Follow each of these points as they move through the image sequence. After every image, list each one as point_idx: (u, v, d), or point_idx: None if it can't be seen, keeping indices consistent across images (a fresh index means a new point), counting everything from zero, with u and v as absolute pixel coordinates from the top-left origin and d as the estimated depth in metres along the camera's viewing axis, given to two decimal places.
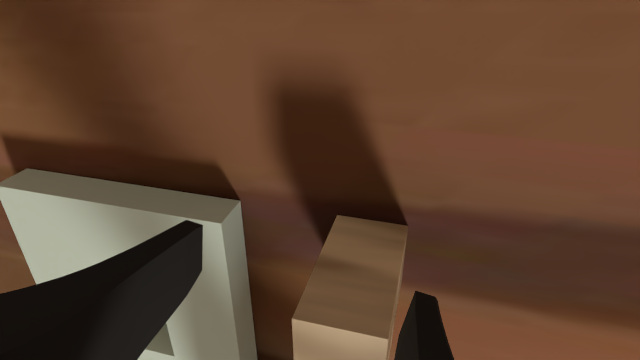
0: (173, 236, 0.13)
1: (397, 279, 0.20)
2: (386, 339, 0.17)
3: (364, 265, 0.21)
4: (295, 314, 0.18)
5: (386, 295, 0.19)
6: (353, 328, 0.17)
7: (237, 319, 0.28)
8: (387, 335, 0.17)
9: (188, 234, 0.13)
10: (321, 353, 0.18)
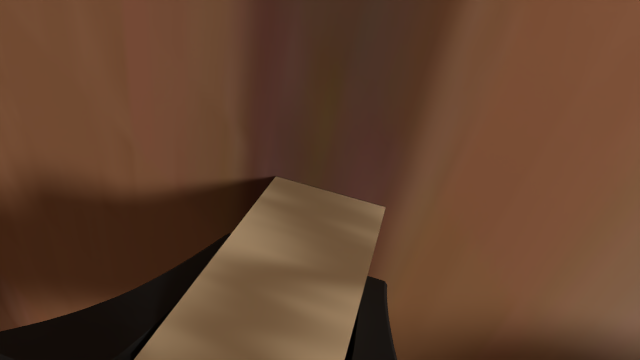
0: None
1: (216, 254, 0.12)
2: None
3: None
4: None
5: None
6: None
7: None
8: (137, 355, 0.09)
9: None
10: None
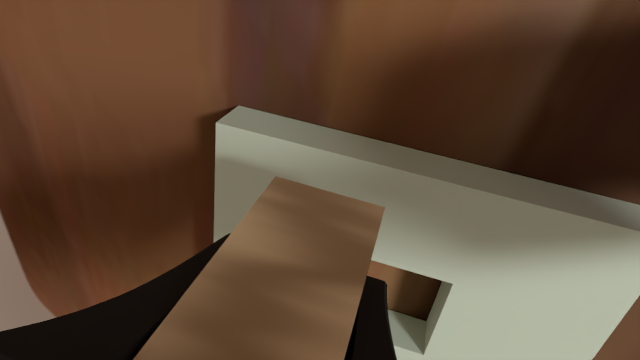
0: None
1: (216, 253, 0.12)
2: None
3: None
4: None
5: None
6: None
7: (380, 160, 0.19)
8: (137, 355, 0.09)
9: None
10: None
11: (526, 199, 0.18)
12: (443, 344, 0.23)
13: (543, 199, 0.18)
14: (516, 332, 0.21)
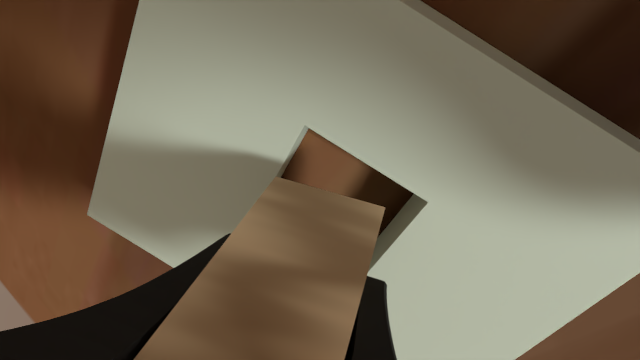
0: None
1: (216, 254, 0.12)
2: None
3: None
4: None
5: None
6: None
7: None
8: (137, 355, 0.09)
9: None
10: None
11: (570, 107, 0.13)
12: (385, 278, 0.18)
13: (587, 115, 0.14)
14: (479, 281, 0.17)
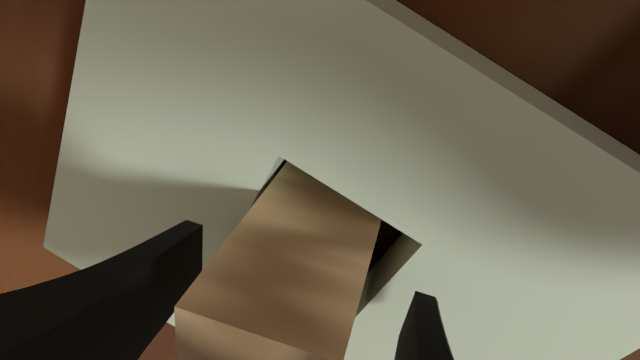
0: (173, 236, 0.13)
1: (239, 223, 0.13)
2: (176, 308, 0.10)
3: None
4: None
5: None
6: (179, 341, 0.11)
7: (384, 8, 0.11)
8: (178, 302, 0.10)
9: (188, 234, 0.13)
10: None
11: (591, 140, 0.11)
12: (374, 325, 0.16)
13: (610, 149, 0.12)
14: (482, 333, 0.15)
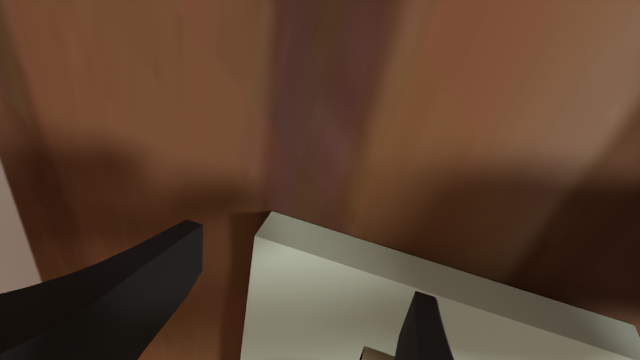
0: (173, 236, 0.13)
1: None
2: None
3: None
4: None
5: None
6: None
7: (398, 276, 0.22)
8: None
9: (188, 234, 0.13)
10: None
11: (524, 320, 0.21)
12: None
13: (539, 318, 0.21)
14: None
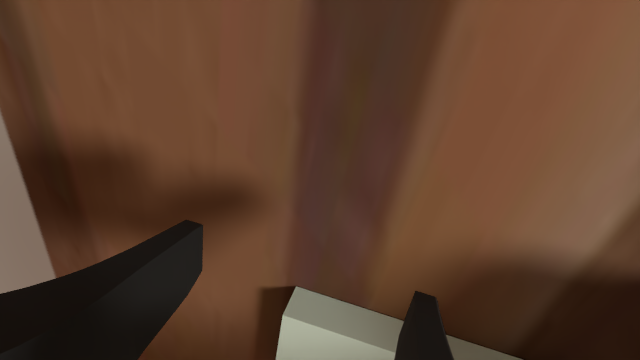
0: (173, 236, 0.13)
1: None
2: None
3: None
4: None
5: None
6: None
7: None
8: None
9: (188, 234, 0.13)
10: None
11: None
12: None
13: None
14: None
